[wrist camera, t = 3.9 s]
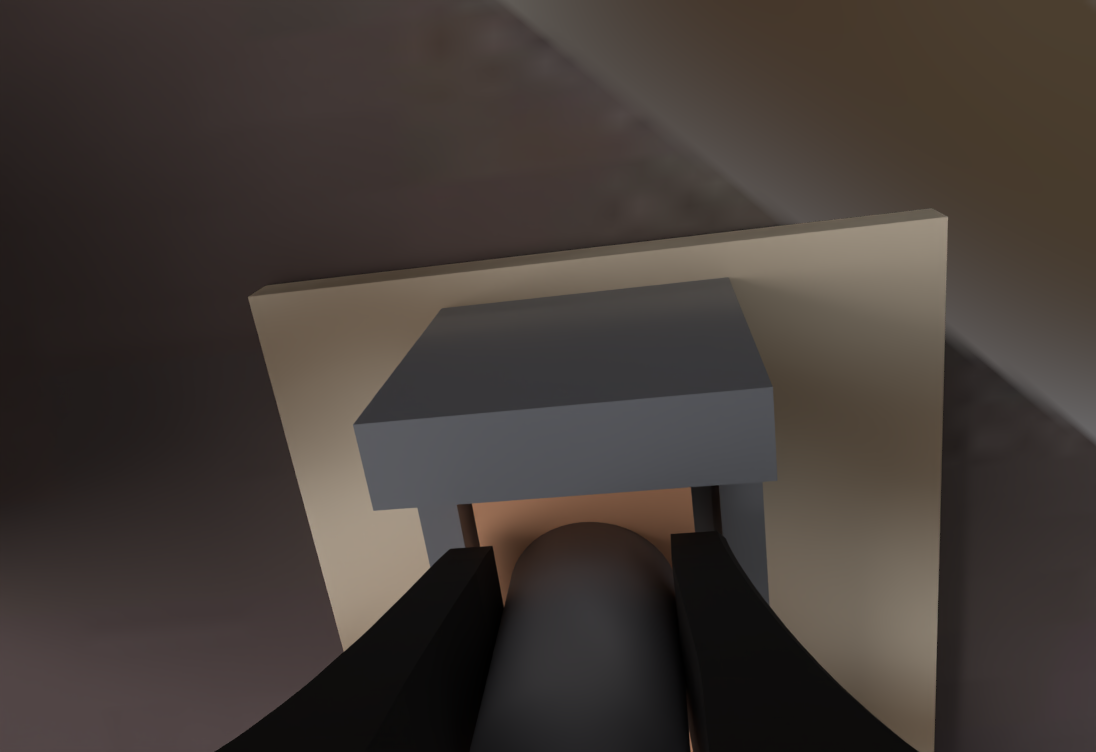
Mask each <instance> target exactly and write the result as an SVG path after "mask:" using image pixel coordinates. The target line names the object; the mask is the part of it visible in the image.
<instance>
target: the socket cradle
mask: <svg viewBox="0 0 1096 752" xmlns="http://www.w3.org/2000/svg"><path fill="white" fill-rule="evenodd" d="M353 428H354V432H355V436H356V440H357V444H358V448H359V453H360V457H361V461H362V465H363V469H364V474H365V478H366V482H367V486H368V490H369V494H370V499H371V503H372V507H373V511H378V510H391V509H405V508H417V509H418V513H419V518H420V522H421V527H422V531H423V536H424V541H425V545H426V550H427V554H428V559H429V564H430V567H431V566H432V565H433V564H434V563H435V562H436V561H437V560H438V559H439V558H440V557H441V556H442V555H444V554H445V553H446V552H447V551H448V550H449V549H453V548H468V547H480V543H479V538H478V533H477V527H476V522H475V517H474V512H473V507H472V503H486V502H499V501H512V500H526V499H539V498H553V497H566V496H580V495H593V494H607V493H620V492H633V491H647V490H660V489H674V488H687V487H691V494H692V505H693V517H694V528H695V532H707V531H718V532H719V533H720V534H721V535H723V536H724V537H725V538H726V540H727V542H728V544H729V546H730V548H731V550H732V552H733V554H734V556H735V557H736V559H737V561H738V562H739V564H740V565H741V567H742V569H743V570H744V572H745V573H746V575H747V576H748V577H749V579H750V580H751V582H752V583H753V585H754V586H755V588H756V589H757V590H758V592H759V593H760V594H761V596H762V597H763V598H764V600H765V601H766V602H767V603H768V605H769V588H768V570H767V552H766V534H765V517H764V499H763V482H768V481H777V460H776V440H775V420H774V400H773V386H772V384H771V381H770V379H769V376H768V374H767V371H766V369H765V366H764V364H763V361H762V359H761V356H760V354H759V351H758V349H757V346H756V344H755V341H754V339H753V336H752V334H751V332H750V329H749V327H748V324H747V322H746V319H745V317H744V314H743V312H742V309H741V307H740V304H739V302H738V299H737V297H736V294H735V292H734V289H733V287H732V284H731V282H730V279H729V277H725V278H716V279H707V280H698V281H688V282H679V283H670V284H661V285H652V286H642V287H633V288H624V289H615V290H606V291H596V292H587V293H578V294H569V295H560V296H550V297H541V298H532V299H523V300H513V301H504V302H495V303H486V304H477V305H467V306H458V307H449V308H441V310H440V311H439V312H438V314H437V315H436V316H435V318H434V319H433V320H432V322H431V323H430V324H429V325H428V327H427V328H426V329H425V331H424V332H423V333H422V335H421V336H420V337H419V339H418V340H417V341H416V343H415V344H414V345H413V346H412V348H411V349H410V350H409V352H408V353H407V354H406V356H405V357H404V358H403V360H402V361H401V362H400V364H399V365H398V366H397V367H396V369H395V370H394V371H393V373H392V374H391V375H390V377H389V378H388V379H387V381H386V382H385V383H384V385H383V386H382V387H381V388H380V390H379V391H378V392H377V394H376V395H375V396H374V398H373V399H372V400H371V402H370V403H369V404H368V406H367V407H366V408H365V409H364V411H363V412H362V413H361V415H360V416H359V417H358V419H357V420H356V421H355V423H354V424H353Z"/></svg>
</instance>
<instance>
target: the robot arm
mask: <svg viewBox="0 0 1096 752" xmlns="http://www.w3.org/2000/svg"><path fill="white" fill-rule="evenodd" d="M671 558H672V568H673V578H674V588H675V598H676V608H677V617H678V627H679V637H680V647H681V654H682V660H683V667H684V674H685V684H686V697H687V711H688V724H689V733H690V738H691V744H692V749H693V752H919V751H917V750H916V749H915V748H913V747H912V746H911V745H909V744H908V743H906V742H905V741H904V740H903V739H901V738H900V737H899V736H898V735H897V734H895V733H894V732H893V731H892V730H891V729H889V728H888V727H887V726H886V725H885V724H883V723H882V722H881V721H880V720H879V719H877V718H876V717H875V716H874V715H873V714H872V713H870V712H869V711H868V710H867V709H866V708H865V707H864V706H863V705H862V704H861V703H859V702H858V701H857V700H856V699H855V698H854V697H853V696H852V695H851V694H849V693H848V692H847V691H846V690H845V689H844V688H843V687H842V686H841V685H840V684H839V683H838V682H837V681H836V680H835V679H834V678H833V677H832V676H831V675H830V674H829V673H828V672H827V671H826V670H825V669H824V668H823V667H822V666H821V665H820V664H819V663H818V662H817V661H816V659H815V658H814V657H813V656H812V655H811V654H810V653H809V652H808V651H807V650H806V649H805V648H804V647H803V645H802V644H801V643H800V642H799V641H798V640H797V639H796V638H795V636H794V635H793V634H792V633H791V632H790V631H789V629H788V628H787V627H786V626H785V625H784V623H783V622H782V621H781V620H780V618H779V617H778V616H777V615H776V613H775V612H774V611H773V610H772V608H771V607H770V606H769V605H768V603H767V602H766V601H765V600H764V598H763V597H762V596H761V594H760V593H759V592H758V590H757V589H756V588H755V586H754V585H753V583H752V582H751V580H750V579H749V577H748V576H747V575H746V573H745V572H744V570H743V569H742V567H741V565H740V564H739V562H738V561H737V559H736V557H735V556H734V554H733V552H732V550H731V548H730V546H729V544H728V542H727V540H726V538H725V537H724V536H723V535H721V534H720V533H719V532H718V531H707V532H692V533H677V534H671ZM503 609H504V604H503V599H502V594H501V588H500V583H499V578H498V572H497V567H496V561H495V556H494V551H493V546H483V547H468V548H453V549H449V550H448V551H447V552H446V553H445V554H444V555H442V556H441V557H440V558H439V559H438V560H437V561H436V562H435V563H434V564H433V565H432V566H431V567H430V568H429V569H428V570H427V571H426V572H425V573H424V575H423V576H422V577H421V578H420V579H419V580H418V581H417V582H416V583H415V584H414V585H413V586H412V587H411V588H410V589H409V590H408V591H407V592H406V593H405V594H404V595H403V596H402V597H401V598H400V599H399V600H398V601H397V602H396V603H395V604H394V605H393V606H392V607H391V608H390V609H389V610H388V611H387V612H386V613H385V614H384V615H383V616H382V617H381V618H380V619H379V620H378V621H377V622H376V623H375V624H374V625H373V626H372V627H371V628H370V629H369V630H368V631H366V632H365V633H364V634H363V635H362V636H361V637H360V638H359V639H358V640H357V641H355V642H354V643H353V644H352V645H351V646H350V647H349V648H348V649H346V650H345V651H344V652H343V653H342V654H341V655H340V656H339V657H338V658H336V659H335V660H334V661H333V662H332V663H331V664H330V665H329V666H327V667H326V668H325V669H324V670H323V671H322V672H321V673H320V674H319V675H317V676H316V677H315V678H314V679H313V680H312V681H310V682H309V683H308V684H307V685H306V686H304V687H303V688H302V689H301V690H300V691H298V692H297V693H296V694H294V695H293V696H292V697H291V698H289V699H288V700H287V701H286V702H284V703H283V704H282V705H280V706H279V707H278V708H276V709H275V710H274V711H272V712H271V713H270V714H268V715H267V716H266V717H264V718H263V719H262V720H260V721H259V722H258V723H256V724H255V725H253V726H252V727H251V728H249V729H248V730H247V731H245V732H244V733H242V734H241V735H239V736H238V737H237V738H235V739H234V740H232V741H231V742H229V743H228V744H226V745H224V746H223V747H221V748H220V749H218V750H217V751H215V752H470V747H471V743H472V738H473V734H474V730H475V726H476V722H477V718H478V713H479V709H480V705H481V701H482V697H483V693H484V688H485V684H486V680H487V676H488V672H489V668H490V663H491V659H492V655H493V651H494V647H495V643H496V638H497V634H498V630H499V626H500V622H501V618H502V613H503Z"/></svg>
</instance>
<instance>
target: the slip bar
mask: <svg viewBox="0 0 1096 752" xmlns="http://www.w3.org/2000/svg"><path fill="white" fill-rule="evenodd" d="M472 507H473V512H474V517H475V522H476V527H477V533H478V538H479V543H480V547H483V546H493V551H494V556H495V561H496V567H497V572H498V578H499V583H500V588H501V594H502V599H503V604H504V609H503V613H502V618H501V622H500V626H499V630H498V634H497V638H496V643H495V647H494V651H493V655H492V659H491V663H490V668H489V672H488V676H487V680H486V684H485V688H484V693H483V697H482V701H481V705H480V709H479V713H478V718H477V722H476V726H475V730H474V734H473V738H472V743H471V747H470V752H693V749H692V744H691V738H690V733H689V724H688V711H687V697H686V684H685V674H684V667H683V660H682V654H681V647H680V637H679V627H678V617H677V608H676V598H675V588H674V578H673V568H672V558H671V534H677V533H692V532H695V528H694V517H693V505H692V494H691V487H687V488H674V489H660V490H647V491H633V492H620V493H607V494H593V495H580V496H566V497H553V498H539V499H526V500H512V501H499V502H486V503H472Z"/></svg>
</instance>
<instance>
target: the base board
mask: <svg viewBox="0 0 1096 752" xmlns="http://www.w3.org/2000/svg"><path fill="white" fill-rule="evenodd" d="M947 235H948V217H947V216H946V215H944V214H942V213H940V212H938V211H936V210H934V209H933V208H929V209H920V210H912V211H903V212H894V213H886V214H877V215H869V216H860V217H851V218H843V219H834V220H825V221H817V222H808V223H799V224H791V225H782V226H774V227H765V228H756V229H748V230H739V231H730V232H722V233H713V234H705V235H696V236H687V237H679V238H670V239H662V240H653V241H644V242H636V243H627V244H618V245H610V246H601V247H593V248H584V249H575V250H567V251H558V252H550V253H541V254H532V255H524V256H515V257H506V258H498V259H489V260H481V261H472V262H463V263H455V264H446V265H438V266H429V267H420V268H412V269H403V270H394V271H386V272H377V273H369V274H360V275H351V276H343V277H334V278H326V279H317V280H308V281H300V282H291V283H282V284H274V285H266V286H264V287H263V288H261V289H260V290H258V291H256V292H255V293H253V294H252V295H250V296H248V299H249V303H250V307H251V311H252V314H253V318H254V322H255V325H256V329H257V333H258V336H259V340H260V344H261V347H262V351H263V355H264V359H265V362H266V366H267V370H268V373H269V377H270V381H271V384H272V388H273V392H274V395H275V399H276V403H277V407H278V410H279V414H280V418H281V421H282V425H283V429H284V432H285V436H286V440H287V443H288V447H289V451H290V455H291V458H292V462H293V466H294V469H295V473H296V477H297V480H298V484H299V488H300V491H301V495H302V499H303V503H304V506H305V510H306V514H307V517H308V521H309V525H310V528H311V532H312V536H313V539H314V543H315V547H316V551H317V554H318V558H319V562H320V565H321V569H322V573H323V576H324V580H325V584H326V588H327V591H328V595H329V599H330V602H331V606H332V610H333V613H334V617H335V621H336V624H337V628H338V632H339V636H340V639H341V643H342V647H343V650H344V651H345V650H346V649H348V648H349V647H350V646H351V645H352V644H353V643H354V642H355V641H357V640H358V639H359V638H360V637H361V636H362V635H363V634H364V633H365V632H366V631H368V630H369V629H370V628H371V627H372V626H373V625H374V624H375V623H376V622H377V621H378V620H379V619H380V618H381V617H382V616H383V615H384V614H385V613H386V612H387V611H388V610H389V609H390V608H391V607H392V606H393V605H394V604H395V603H396V602H397V601H398V600H399V599H400V598H401V597H402V596H403V595H404V594H405V593H406V592H407V591H408V590H409V589H410V588H411V587H412V586H413V585H414V584H415V583H416V582H417V581H418V580H419V579H420V578H421V577H422V576H423V575H424V573H425V572H426V571H427V570H428V569H429V568H430V564H429V559H428V554H427V550H426V545H425V541H424V536H423V531H422V527H421V522H420V518H419V513H418V509H417V508H405V509H391V510H378V511H373V507H372V503H371V499H370V494H369V490H368V486H367V482H366V478H365V474H364V469H363V465H362V461H361V457H360V453H359V448H358V444H357V440H356V436H355V432H354V428H353V424H354V423H355V421H356V420H357V419H358V417H359V416H360V415H361V413H362V412H363V411H364V409H365V408H366V407H367V406H368V404H369V403H370V402H371V400H372V399H373V398H374V396H375V395H376V394H377V392H378V391H379V390H380V388H381V387H382V386H383V385H384V383H385V382H386V381H387V379H388V378H389V377H390V375H391V374H392V373H393V371H394V370H395V369H396V367H397V366H398V365H399V364H400V362H401V361H402V360H403V358H404V357H405V356H406V354H407V353H408V352H409V350H410V349H411V348H412V346H413V345H414V344H415V343H416V341H417V340H418V339H419V337H420V336H421V335H422V333H423V332H424V331H425V329H426V328H427V327H428V325H429V324H430V323H431V322H432V320H433V319H434V318H435V316H436V315H437V314H438V312H439V311H440V310H441V308H449V307H458V306H467V305H477V304H486V303H495V302H504V301H513V300H523V299H532V298H541V297H550V296H560V295H569V294H578V293H587V292H596V291H606V290H615V289H624V288H633V287H642V286H652V285H661V284H670V283H679V282H688V281H698V280H707V279H716V278H725V277H729V279H730V282H731V284H732V287H733V289H734V292H735V294H736V297H737V299H738V302H739V304H740V307H741V309H742V312H743V314H744V317H745V319H746V322H747V324H748V327H749V329H750V332H751V334H752V336H753V339H754V341H755V344H756V346H757V349H758V351H759V354H760V356H761V359H762V361H763V364H764V366H765V369H766V371H767V374H768V376H769V379H770V381H771V384H772V386H773V400H774V420H775V440H776V460H777V481H768V482H763V499H764V517H765V534H766V552H767V570H768V588H769V606H770V607H771V608H772V610H773V611H774V612H775V613H776V615H777V616H778V617H779V618H780V620H781V621H782V622H783V623H784V625H785V626H786V627H787V628H788V629H789V631H790V632H791V633H792V634H793V635H794V636H795V638H796V639H797V640H798V641H799V642H800V643H801V644H802V645H803V647H804V648H805V649H806V650H807V651H808V652H809V653H810V654H811V655H812V656H813V657H814V658H815V659H816V661H817V662H818V663H819V664H820V665H821V666H822V667H823V668H824V669H825V670H826V671H827V672H828V673H829V674H830V675H831V676H832V677H833V678H834V679H835V680H836V681H837V682H838V683H839V684H840V685H841V686H842V687H843V688H844V689H845V690H846V691H847V692H848V693H849V694H851V695H852V696H853V697H854V698H855V699H856V700H857V701H858V702H859V703H861V704H862V705H863V706H864V707H865V708H866V709H867V710H868V711H869V712H870V713H872V714H873V715H874V716H875V717H876V718H877V719H879V720H880V721H881V722H882V723H883V724H885V725H886V726H887V727H888V728H889V729H891V730H892V731H893V732H894V733H895V734H897V735H898V736H899V737H900V738H901V739H903V740H904V741H905V742H906V743H908V744H909V745H911V746H912V747H913V748H915V749H916V750H917V751H919V752H934V736H935V697H936V659H937V621H938V582H939V544H940V506H941V468H942V429H943V391H944V353H945V314H946V276H947V238H948V237H947Z"/></svg>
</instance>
